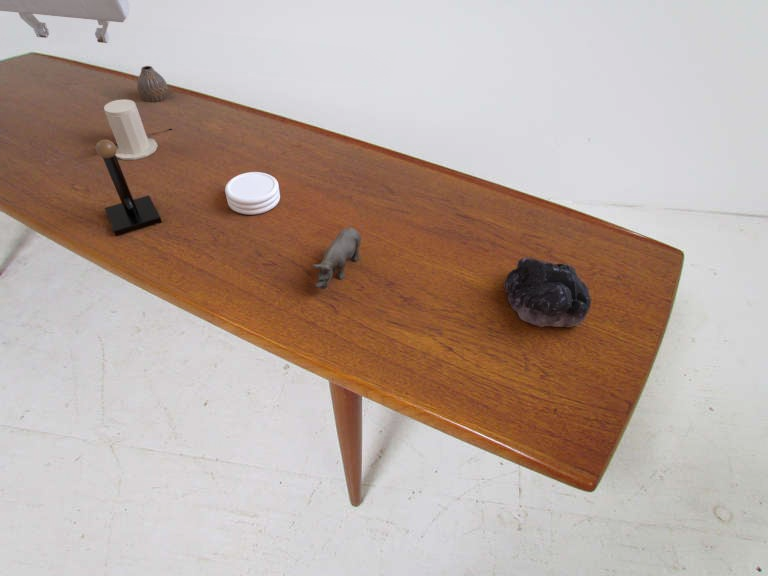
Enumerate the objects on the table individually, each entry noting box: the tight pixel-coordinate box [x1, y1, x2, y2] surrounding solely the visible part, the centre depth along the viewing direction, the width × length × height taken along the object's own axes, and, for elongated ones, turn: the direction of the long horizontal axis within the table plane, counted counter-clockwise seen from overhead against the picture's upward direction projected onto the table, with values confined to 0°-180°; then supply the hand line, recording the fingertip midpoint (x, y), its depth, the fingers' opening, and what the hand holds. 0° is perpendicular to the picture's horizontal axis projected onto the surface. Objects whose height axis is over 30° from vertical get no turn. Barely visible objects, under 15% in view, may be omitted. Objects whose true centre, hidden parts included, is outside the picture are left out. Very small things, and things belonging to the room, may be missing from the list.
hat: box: [103, 99, 159, 161], centre depth 105 cm, size 9×9×10 cm
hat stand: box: [95, 139, 163, 237], centre depth 86 cm, size 8×8×16 cm
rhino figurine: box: [312, 227, 362, 290], centre depth 81 cm, size 4×14×6 cm, turn 155°
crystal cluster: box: [503, 257, 592, 328], centre depth 76 cm, size 13×14×10 cm
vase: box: [136, 65, 170, 103], centre depth 121 cm, size 7×7×9 cm
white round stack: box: [224, 171, 281, 216], centre depth 95 cm, size 10×10×4 cm
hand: (74, 38), depth 86 cm, fingers open, 8 cm apart
